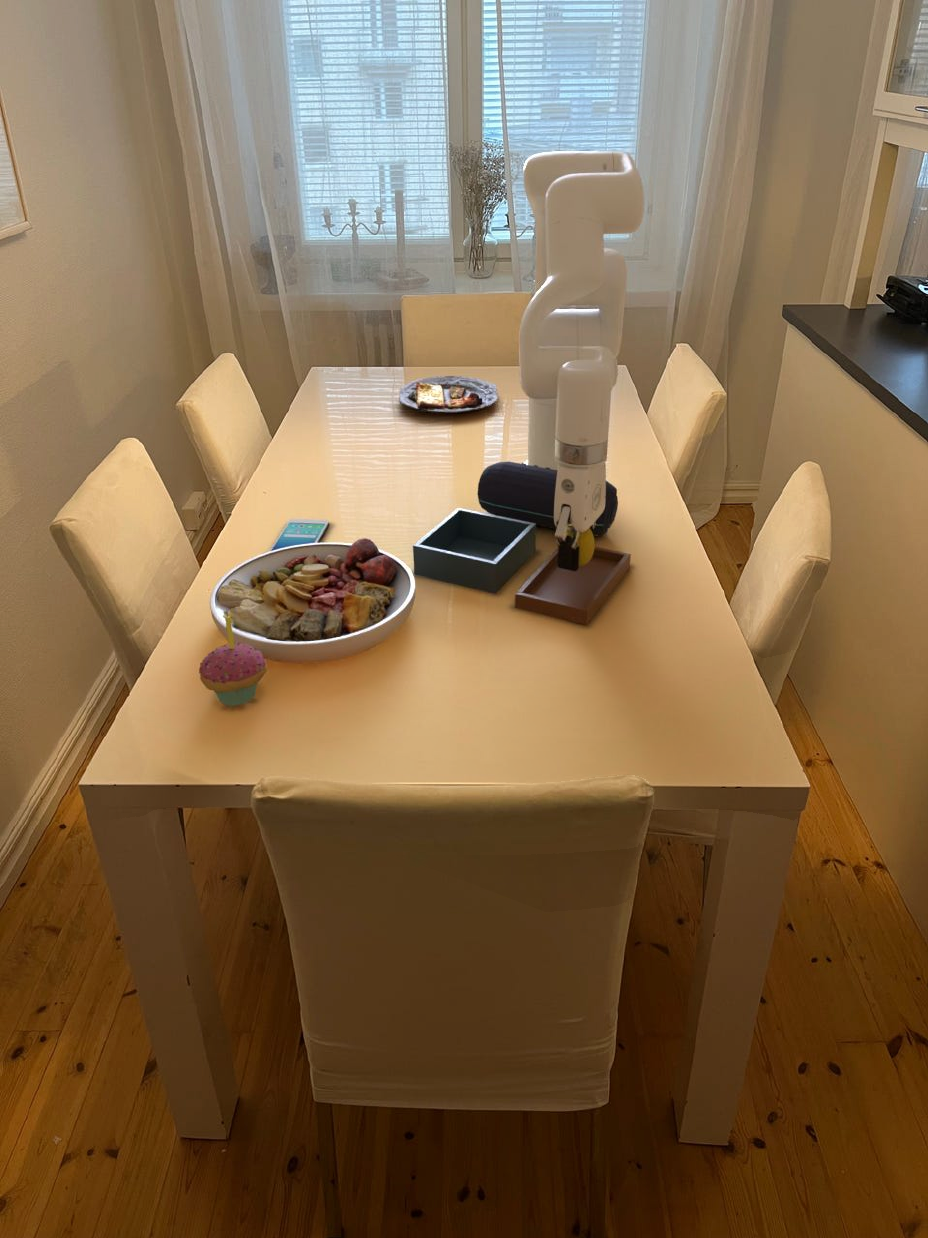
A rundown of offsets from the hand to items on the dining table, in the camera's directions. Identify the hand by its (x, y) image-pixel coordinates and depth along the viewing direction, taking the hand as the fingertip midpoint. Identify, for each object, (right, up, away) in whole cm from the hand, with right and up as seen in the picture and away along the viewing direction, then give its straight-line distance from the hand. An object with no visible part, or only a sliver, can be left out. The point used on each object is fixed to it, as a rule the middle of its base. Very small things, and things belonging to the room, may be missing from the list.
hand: (575, 558), depth 143 cm
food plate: (-21, +42, +79) cm, 92 cm away
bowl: (-39, -9, -4) cm, 41 cm away
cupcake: (-47, -20, -20) cm, 55 cm away
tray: (0, -4, +3) cm, 5 cm away
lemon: (0, -2, +1) cm, 2 cm away
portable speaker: (-2, +8, +22) cm, 23 cm away
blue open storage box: (-15, 0, +10) cm, 18 cm away
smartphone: (-46, +4, +17) cm, 49 cm away
